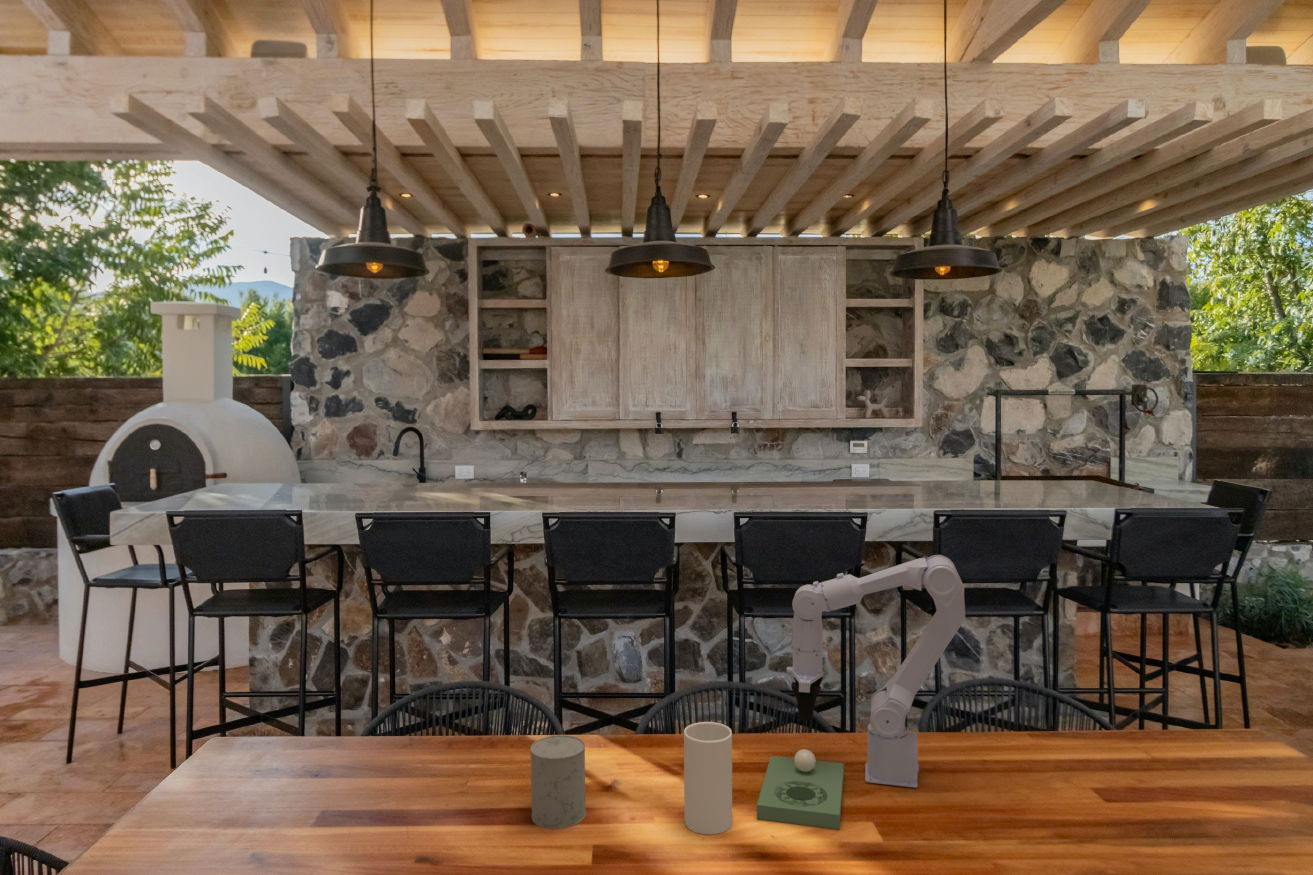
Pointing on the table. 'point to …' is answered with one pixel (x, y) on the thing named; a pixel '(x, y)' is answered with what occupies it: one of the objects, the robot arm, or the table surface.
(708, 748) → the cup
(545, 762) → the grey marble cylinder
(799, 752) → the ball
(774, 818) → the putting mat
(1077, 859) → the table surface
